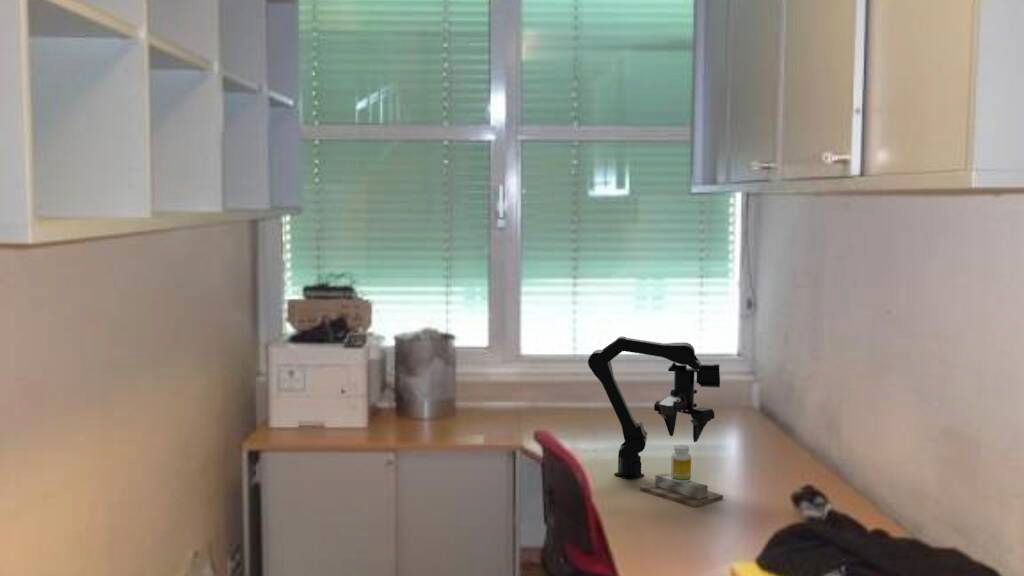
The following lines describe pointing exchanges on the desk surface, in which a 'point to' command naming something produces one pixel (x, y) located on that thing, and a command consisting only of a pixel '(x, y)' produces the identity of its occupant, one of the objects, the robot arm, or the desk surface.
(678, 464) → the supplement bottle
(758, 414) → the desk surface
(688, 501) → the ridge board
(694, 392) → the robot arm
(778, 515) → the desk surface
